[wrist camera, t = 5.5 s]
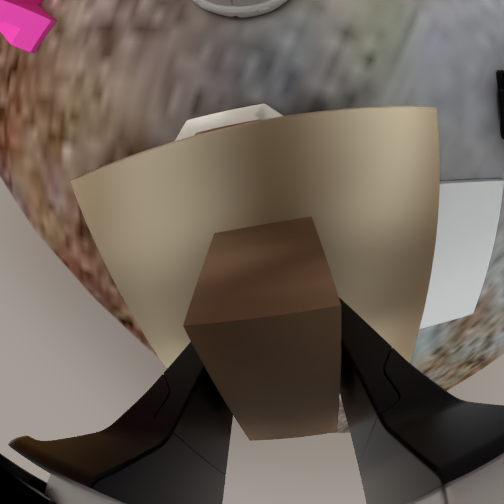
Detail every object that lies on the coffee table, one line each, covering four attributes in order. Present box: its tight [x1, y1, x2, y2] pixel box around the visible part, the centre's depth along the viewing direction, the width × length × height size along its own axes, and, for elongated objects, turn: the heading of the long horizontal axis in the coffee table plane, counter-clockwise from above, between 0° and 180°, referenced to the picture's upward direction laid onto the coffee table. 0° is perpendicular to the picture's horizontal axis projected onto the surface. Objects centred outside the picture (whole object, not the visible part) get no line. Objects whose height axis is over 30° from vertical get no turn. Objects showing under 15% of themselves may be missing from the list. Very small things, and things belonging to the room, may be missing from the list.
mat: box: [419, 178, 504, 329], centre depth 22 cm, size 16×16×1 cm
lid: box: [70, 105, 440, 440], centre depth 9 cm, size 12×12×5 cm
